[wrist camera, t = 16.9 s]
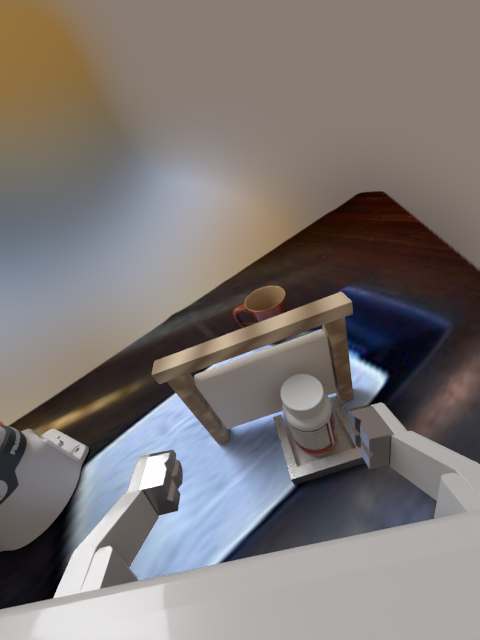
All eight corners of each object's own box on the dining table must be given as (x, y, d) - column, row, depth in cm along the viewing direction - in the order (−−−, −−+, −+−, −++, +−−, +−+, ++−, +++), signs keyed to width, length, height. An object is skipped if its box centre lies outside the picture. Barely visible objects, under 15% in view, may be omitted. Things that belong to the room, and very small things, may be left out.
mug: (293, 317, 58) (283, 281, 52) (298, 343, 51) (288, 304, 46) (245, 328, 61) (230, 295, 55) (244, 354, 54) (227, 319, 48)
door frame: (212, 445, 40) (151, 375, 30) (211, 432, 42) (154, 361, 31) (359, 396, 38) (351, 301, 28) (351, 384, 40) (341, 291, 30)
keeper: (294, 485, 32) (291, 479, 31) (276, 423, 40) (273, 417, 38) (371, 461, 32) (370, 454, 30) (338, 402, 39) (337, 395, 38)
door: (227, 429, 39) (194, 384, 32) (225, 411, 42) (194, 366, 35) (336, 392, 38) (326, 336, 31) (327, 376, 40) (316, 322, 33)
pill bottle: (310, 408, 39) (296, 362, 33) (346, 432, 35) (338, 384, 28) (285, 438, 37) (265, 395, 31) (321, 467, 33) (306, 425, 26)
